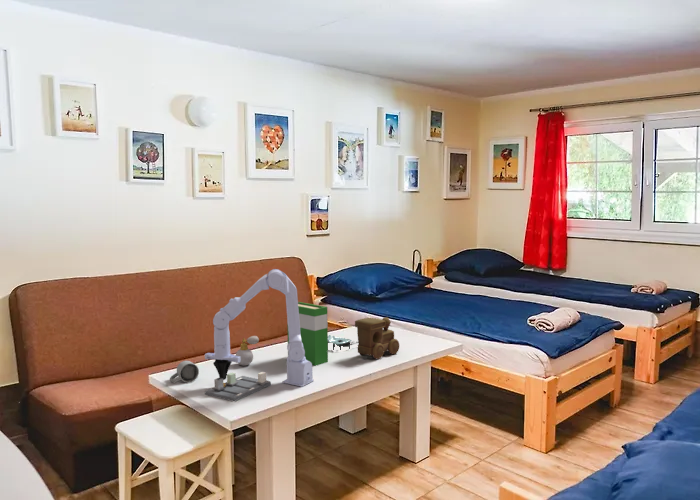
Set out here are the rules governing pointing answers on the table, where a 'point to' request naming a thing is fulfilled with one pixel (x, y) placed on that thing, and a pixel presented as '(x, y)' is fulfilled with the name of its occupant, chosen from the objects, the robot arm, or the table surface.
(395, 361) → the table surface
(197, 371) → the ceramic mug
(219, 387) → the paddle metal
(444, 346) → the table surface
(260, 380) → the paddle cream
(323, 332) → the hardback book
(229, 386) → the panel
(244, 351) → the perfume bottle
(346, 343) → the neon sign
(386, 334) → the wooden toy train
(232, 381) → the pale mint cube
